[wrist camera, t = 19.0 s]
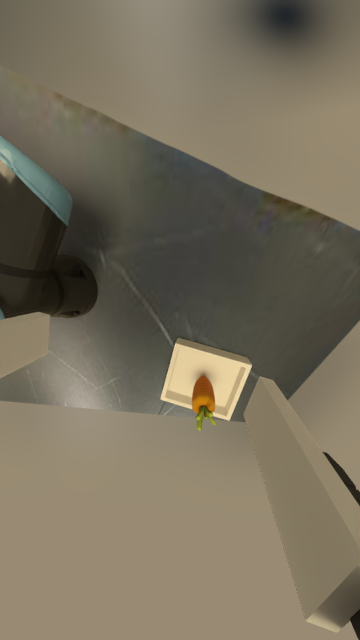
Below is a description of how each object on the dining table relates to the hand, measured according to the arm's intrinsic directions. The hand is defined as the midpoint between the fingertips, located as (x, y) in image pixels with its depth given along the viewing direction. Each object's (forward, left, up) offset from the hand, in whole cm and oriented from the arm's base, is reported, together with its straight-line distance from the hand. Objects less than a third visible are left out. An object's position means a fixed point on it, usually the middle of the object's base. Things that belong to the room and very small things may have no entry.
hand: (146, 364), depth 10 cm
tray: (+9, -18, -32) cm, 38 cm away
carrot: (+9, -18, -31) cm, 37 cm away
